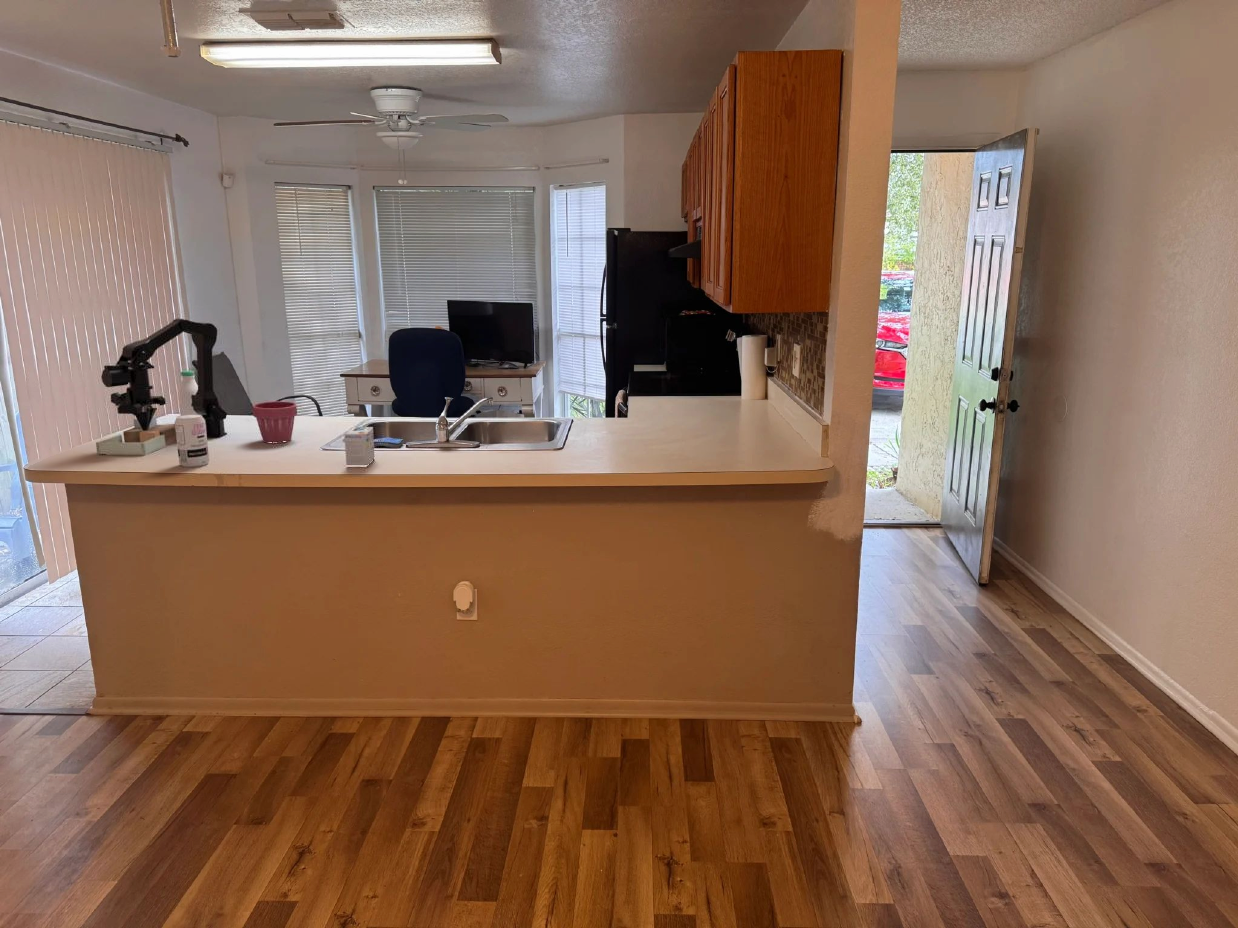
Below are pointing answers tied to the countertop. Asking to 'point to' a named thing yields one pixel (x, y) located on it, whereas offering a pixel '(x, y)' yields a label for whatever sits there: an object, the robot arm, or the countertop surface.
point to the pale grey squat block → (152, 424)
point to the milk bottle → (187, 392)
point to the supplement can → (191, 440)
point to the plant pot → (275, 420)
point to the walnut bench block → (166, 430)
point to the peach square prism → (148, 435)
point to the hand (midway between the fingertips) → (145, 430)
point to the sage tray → (129, 446)
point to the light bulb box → (359, 446)
